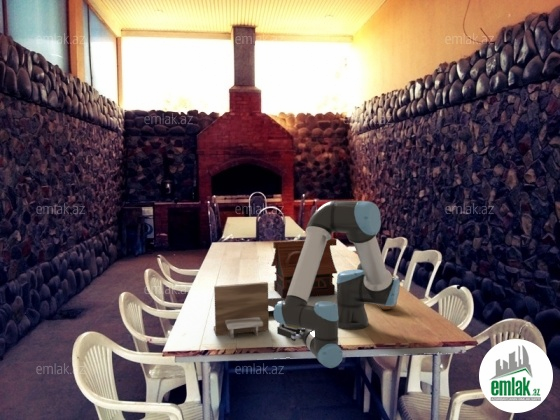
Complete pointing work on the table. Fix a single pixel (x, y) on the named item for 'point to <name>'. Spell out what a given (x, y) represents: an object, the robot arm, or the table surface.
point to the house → (287, 263)
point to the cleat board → (241, 308)
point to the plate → (274, 302)
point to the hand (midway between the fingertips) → (297, 321)
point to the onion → (386, 307)
